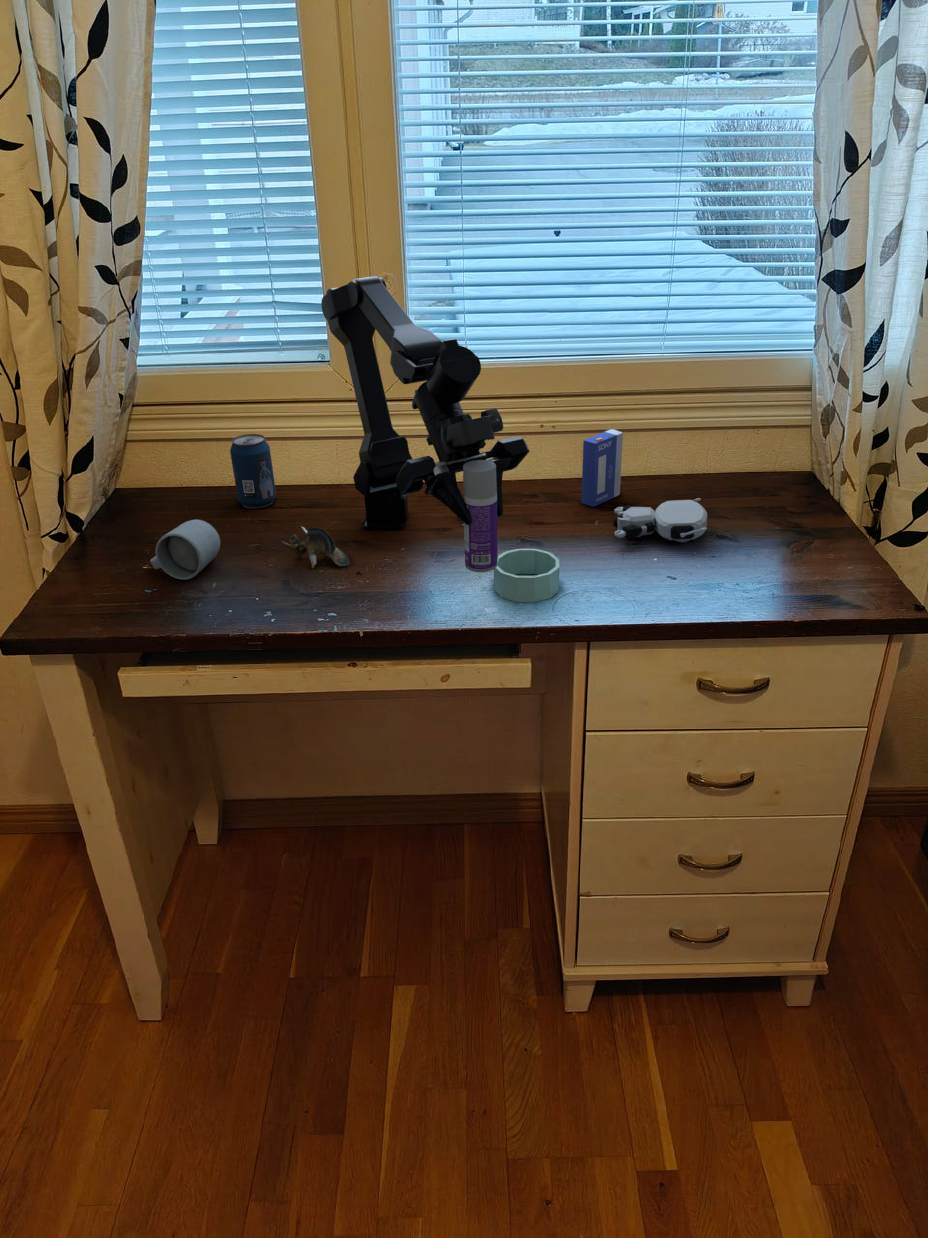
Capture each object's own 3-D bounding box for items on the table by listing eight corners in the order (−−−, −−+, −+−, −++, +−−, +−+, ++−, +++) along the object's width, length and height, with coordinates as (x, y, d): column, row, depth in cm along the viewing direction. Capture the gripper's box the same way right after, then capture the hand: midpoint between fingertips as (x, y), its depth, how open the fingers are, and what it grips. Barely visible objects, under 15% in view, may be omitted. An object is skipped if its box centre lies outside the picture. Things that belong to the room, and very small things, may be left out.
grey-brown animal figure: (281, 567, 147) (334, 562, 144) (280, 522, 148) (332, 516, 145) (304, 573, 154) (355, 568, 152) (303, 529, 155) (353, 524, 152)
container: (504, 563, 136) (503, 464, 129) (484, 575, 133) (482, 474, 126) (478, 554, 139) (476, 457, 131) (458, 566, 136) (455, 467, 128)
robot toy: (613, 553, 152) (709, 550, 150) (612, 528, 150) (710, 524, 148) (613, 522, 163) (703, 519, 160) (612, 497, 161) (704, 494, 158)
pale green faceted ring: (492, 601, 138) (491, 577, 136) (496, 571, 146) (496, 548, 144) (558, 602, 137) (559, 578, 135) (559, 572, 146) (559, 548, 144)
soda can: (245, 494, 177) (236, 432, 171) (281, 495, 176) (273, 433, 170) (232, 509, 171) (222, 445, 165) (270, 510, 170) (261, 446, 164)
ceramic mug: (227, 558, 153) (219, 514, 149) (204, 582, 146) (195, 536, 142) (167, 555, 155) (157, 511, 152) (142, 578, 148) (131, 532, 145)
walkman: (593, 507, 167) (595, 441, 161) (581, 503, 169) (583, 437, 163) (621, 494, 172) (624, 430, 166) (608, 490, 173) (611, 426, 167)
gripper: (400, 402, 123) (443, 510, 120) (523, 379, 130) (566, 480, 128) (379, 443, 133) (418, 543, 130) (494, 419, 140) (533, 514, 138)
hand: (485, 519), depth 131 cm, fingers closed on container, 4 cm apart
